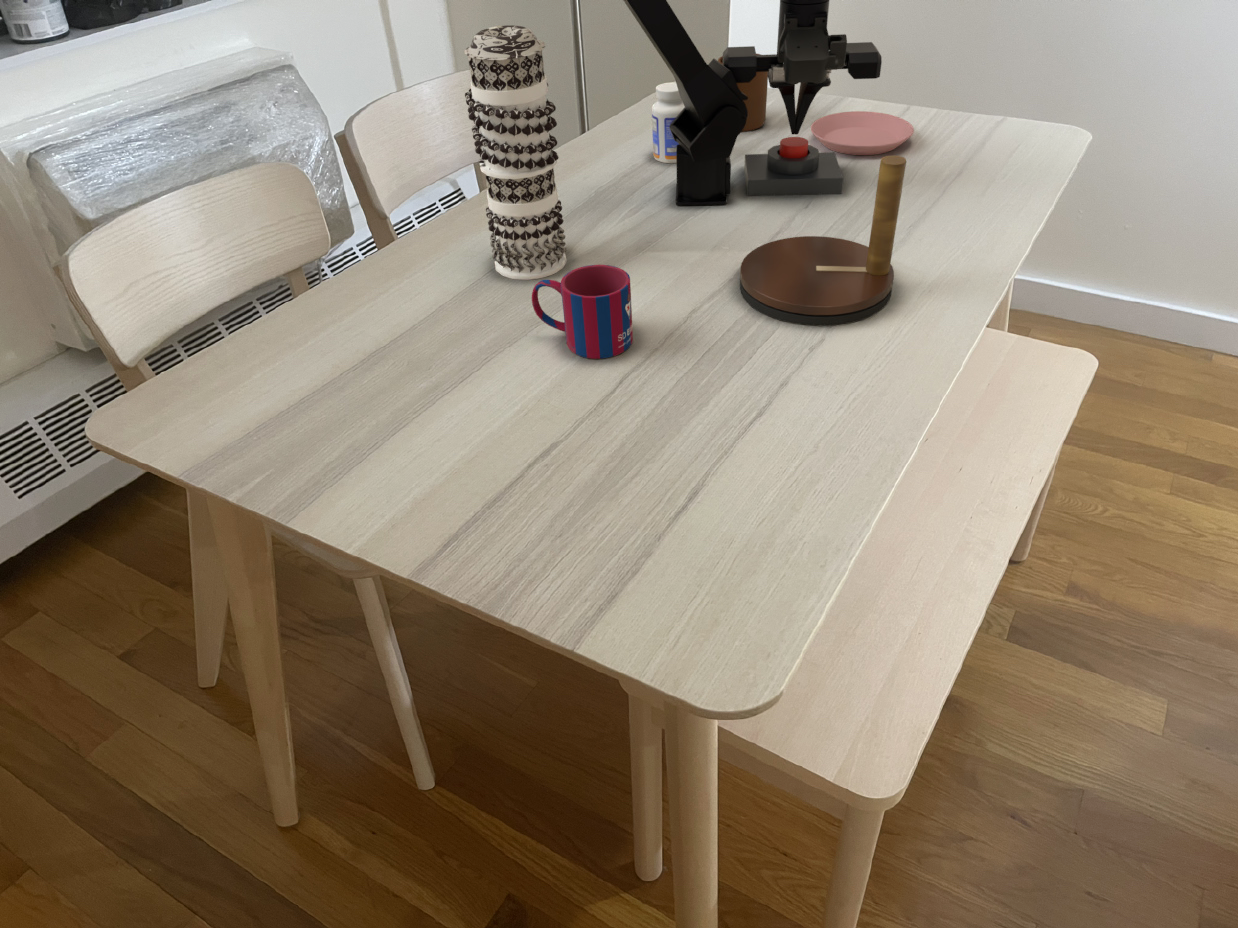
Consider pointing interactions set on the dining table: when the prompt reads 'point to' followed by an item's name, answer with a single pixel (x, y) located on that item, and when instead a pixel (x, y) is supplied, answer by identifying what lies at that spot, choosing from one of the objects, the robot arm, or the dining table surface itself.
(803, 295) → the turntable
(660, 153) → the pill bottle
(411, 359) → the dining table surface
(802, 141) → the button
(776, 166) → the control block
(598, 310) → the cup
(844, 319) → the turntable base
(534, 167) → the decorative candle
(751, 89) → the mug
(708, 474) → the dining table surface
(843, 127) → the plate
